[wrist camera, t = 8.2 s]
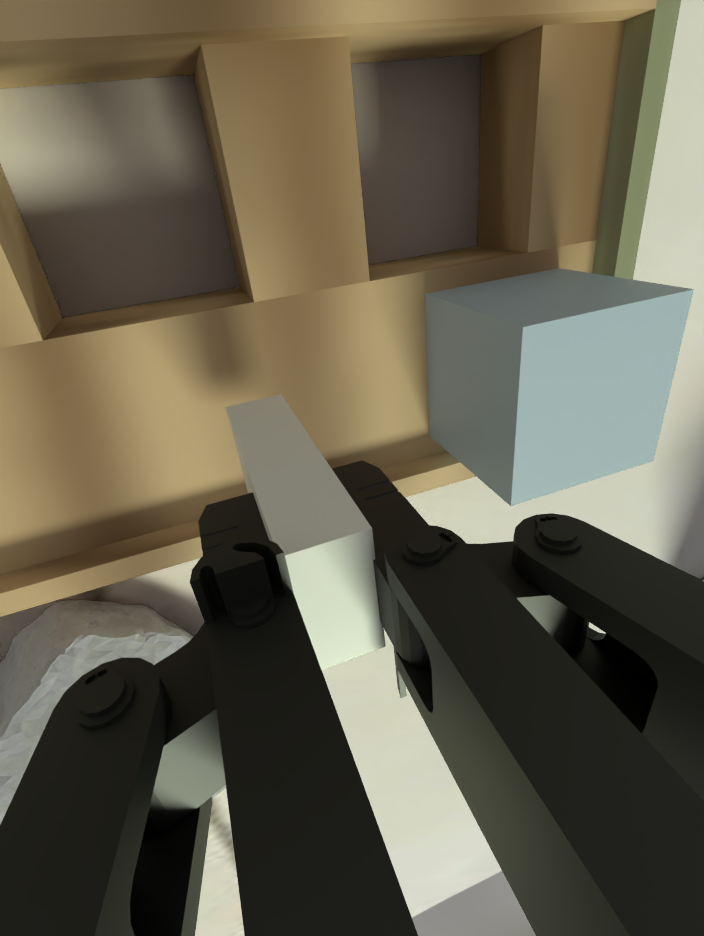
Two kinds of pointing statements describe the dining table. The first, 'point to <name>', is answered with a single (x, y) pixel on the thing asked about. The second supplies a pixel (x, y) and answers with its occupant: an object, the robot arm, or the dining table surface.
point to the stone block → (68, 668)
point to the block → (551, 376)
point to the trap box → (294, 253)
